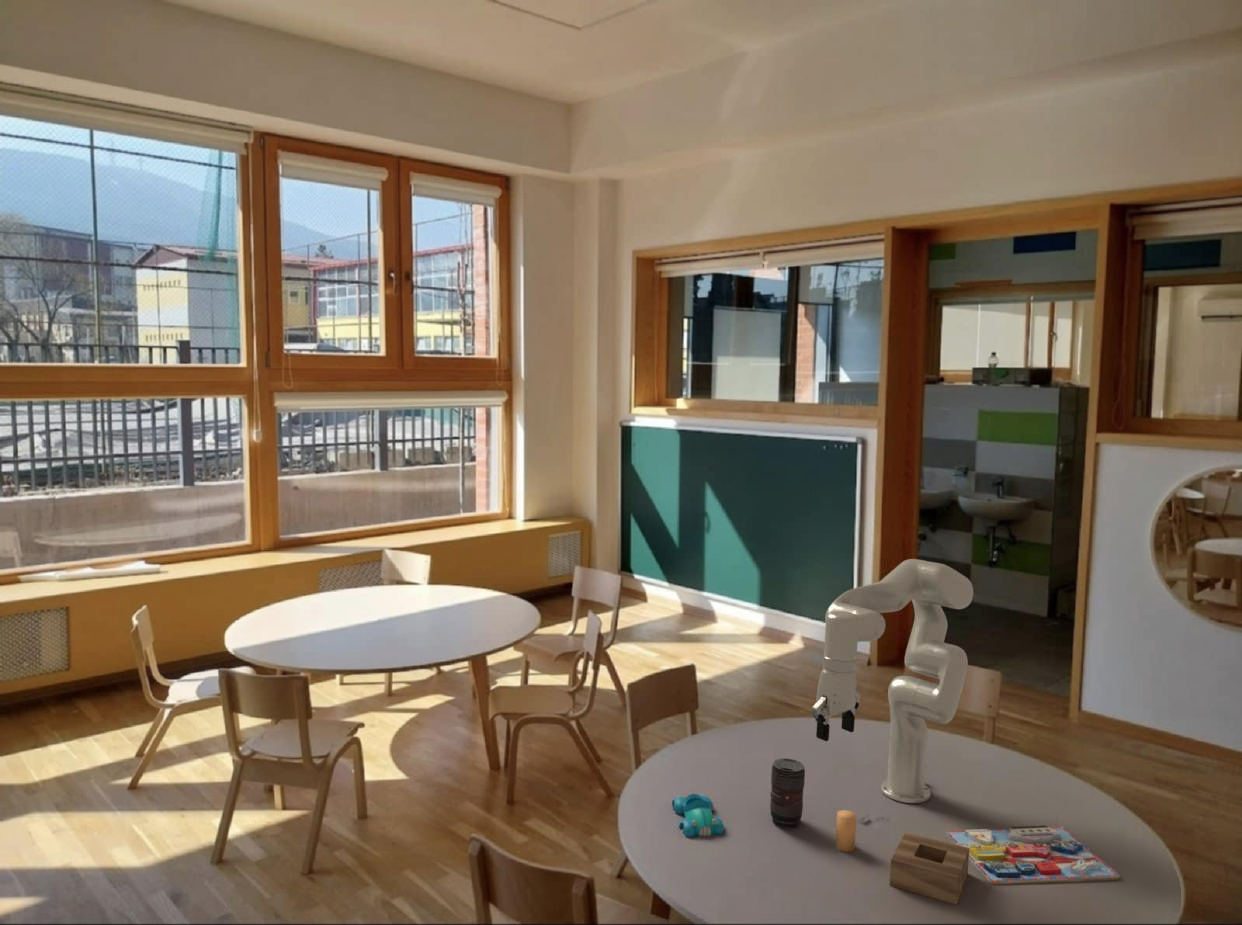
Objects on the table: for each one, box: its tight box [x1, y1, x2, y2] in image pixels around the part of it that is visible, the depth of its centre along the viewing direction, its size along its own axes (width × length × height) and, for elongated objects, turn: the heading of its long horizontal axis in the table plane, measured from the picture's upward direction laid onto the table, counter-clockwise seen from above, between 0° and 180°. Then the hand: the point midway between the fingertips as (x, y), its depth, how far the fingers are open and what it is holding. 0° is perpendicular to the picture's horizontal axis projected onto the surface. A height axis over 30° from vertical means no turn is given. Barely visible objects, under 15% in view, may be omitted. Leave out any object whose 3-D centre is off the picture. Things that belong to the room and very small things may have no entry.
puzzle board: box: [945, 825, 1121, 885], centre depth 217 cm, size 30×23×3 cm
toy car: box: [671, 793, 725, 838], centre depth 231 cm, size 11×18×7 cm, turn 9°
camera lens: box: [769, 757, 806, 829], centre depth 229 cm, size 8×8×15 cm
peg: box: [835, 809, 857, 853], centre depth 218 cm, size 4×4×8 cm
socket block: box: [889, 831, 970, 905], centre depth 205 cm, size 14×14×6 cm
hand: (835, 734), depth 220 cm, fingers open, 9 cm apart
